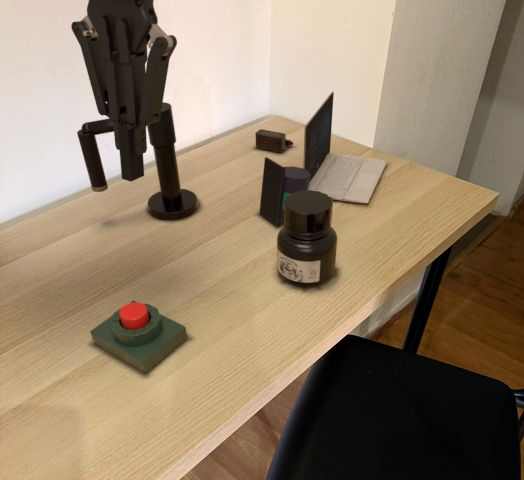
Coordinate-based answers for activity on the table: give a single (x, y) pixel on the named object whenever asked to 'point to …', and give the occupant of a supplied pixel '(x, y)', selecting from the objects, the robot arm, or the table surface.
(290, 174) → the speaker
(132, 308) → the button
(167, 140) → the crank handle
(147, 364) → the control box
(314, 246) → the ink bottle
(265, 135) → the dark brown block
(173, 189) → the round black base
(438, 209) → the table surface
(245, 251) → the table surface
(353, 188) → the laptop
